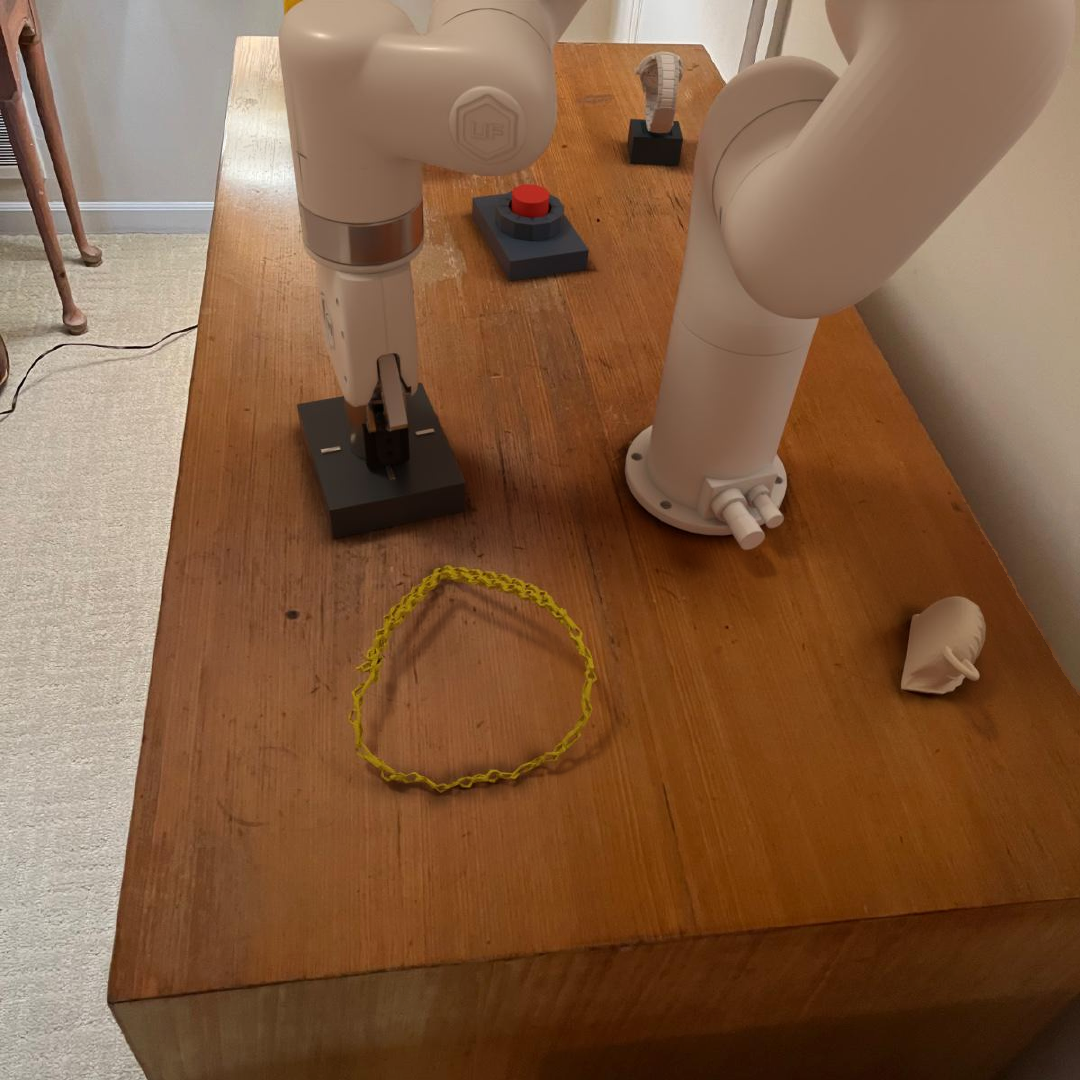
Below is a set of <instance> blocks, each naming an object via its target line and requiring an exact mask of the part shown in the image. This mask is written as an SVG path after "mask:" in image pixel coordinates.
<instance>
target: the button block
mask: <svg viewBox="0 0 1080 1080" xmlns="http://www.w3.org/2000/svg"><path fill="white" fill-rule="evenodd" d="M545 189H546V190H548V189H547V188H545ZM512 191H513V190H511V191H509V192H505V193H498V194H492V195H484V196H483V195H482V196H475V197H472V198H471V199H472V200H471V201H472V203H471V213H472V214H471V217H472V218H471V219H472V220H473V221H474V223H475V224H476V226H477V228H478V230H479V231H480V233H481V235H482V237H483V239H484V240H485V242H486V243H487V245H488V247H489V248H490V250H491V252H492V254H493V255H494V257H495V259H496V260H497V262H498V264H499V265H500V268H501V269H502V271H503V272H504V274H505V275H506V278H507V279H508V281H509V282H512V281H519V280H526V279H532V278H539V277H545V276H552V275H560V274H565V273H572V272H579V271H586V270H588V262H589V252H590V249H589V248H588V246H587V245H586V243H585V242H584V240H583V239H582V238H581V236H580V235H579V234H578V232H577V231H576V229H575V228H574V226H573V225H572V224H571V222H570V221H569V219H568V218H567V216H566V215H565V206H564V204H563V203H562V202H561V200H560V199H559V198H558V197H557V196H555V195H552V194H551V193H550V192H549V209H548V213H547V215H545V216H543V217H536V218H528V217H521V216H519V215H517V214H515V213H513V212H512Z"/></svg>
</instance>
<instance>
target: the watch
mask: <svg viewBox="0 0 1080 1080" xmlns="http://www.w3.org/2000/svg"><path fill="white" fill-rule="evenodd" d="M684 65H685V64H684V61H683V58H681V56H680V55H678V54H676V53H673V52H670V51H657V52H653V53H650V54H648V55H646V56H645V57H644V58H643V59H641V61H640V63H639V65H638V66H636V67H635V70H634V73H635V76H638V75H639V80H640V83H641V88H642V89H641V90H642V93H643V94H645V102H644V103H645V106H644V107H645V108H644V109H645V111H644V112H645V117H644V118H645V119H641V118H630V119H629V127H628V134H627V140H626V141H627V142H626V148H627V154H628V159H629V163H630V165H632V164H633V165H654V166H676V167H679V166H680V160H681V155H682V148H683V143H684V137H683V133H682V128H681V125H680V122H679V120H675V116H676V112H677V107H676V103H677V99H678V89H679V83H680V82H681V80H682V79H683V76H684V67H685V66H684Z"/></svg>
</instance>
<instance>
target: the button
mask: <svg viewBox="0 0 1080 1080" xmlns="http://www.w3.org/2000/svg"><path fill="white" fill-rule="evenodd" d="M546 189H547V188H545V187H544V186H541V185H538V184H533V183H531V184H530V183H524V184H520V185H518V186H516V187H514V188H513V190H511V191H512V212H513V213H515V214H517V215H519V216H521V217H528V218H536V217H543V216H545V215H547V213H548V209H549V193H550V191H549V190H548V189H547V190H546Z"/></svg>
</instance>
